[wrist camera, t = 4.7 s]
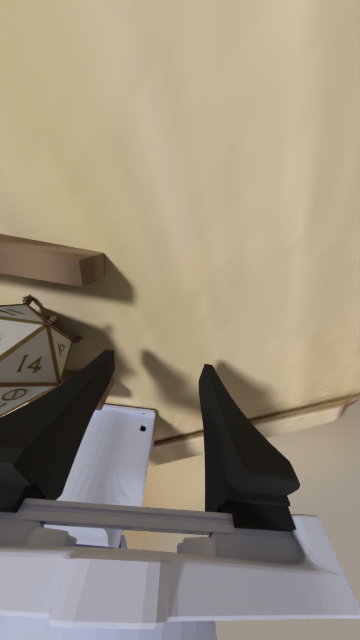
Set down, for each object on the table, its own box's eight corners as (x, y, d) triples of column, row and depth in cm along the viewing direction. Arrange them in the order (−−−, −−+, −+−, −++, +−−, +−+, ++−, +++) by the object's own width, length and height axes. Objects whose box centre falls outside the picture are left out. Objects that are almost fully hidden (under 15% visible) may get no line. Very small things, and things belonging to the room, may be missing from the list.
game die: (77, 293, 17) (61, 287, 8) (89, 368, 18) (87, 433, 9) (-57, 299, 12) (-410, 299, 4) (-27, 396, 14) (-231, 564, 5)
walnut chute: (103, 252, 11) (78, 260, 8) (112, 384, 18) (101, 410, 16) (-85, 218, 10) (-177, 214, 8) (3, 370, 17) (-28, 395, 15)
